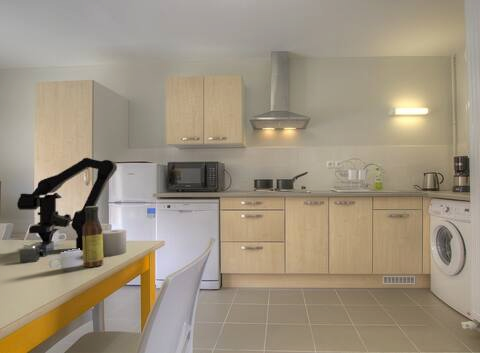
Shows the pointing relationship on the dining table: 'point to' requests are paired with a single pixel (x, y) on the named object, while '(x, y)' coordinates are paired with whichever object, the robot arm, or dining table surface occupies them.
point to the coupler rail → (30, 254)
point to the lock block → (45, 247)
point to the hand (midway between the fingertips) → (47, 246)
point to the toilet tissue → (114, 242)
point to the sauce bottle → (92, 238)
